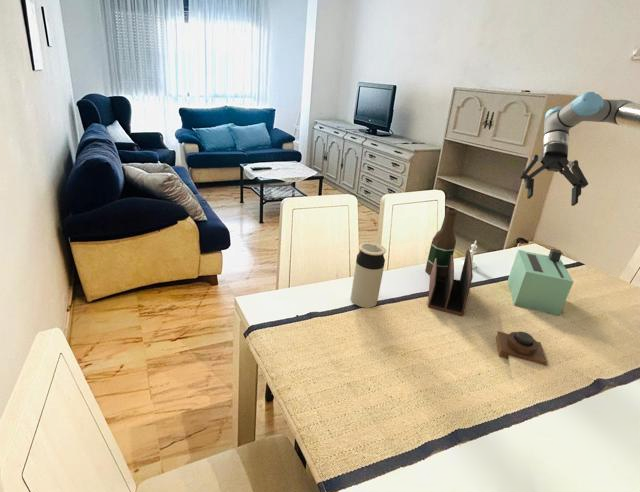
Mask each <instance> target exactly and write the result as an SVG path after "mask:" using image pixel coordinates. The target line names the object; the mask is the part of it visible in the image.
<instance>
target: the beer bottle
mask: <svg viewBox="0 0 640 492" xmlns="http://www.w3.org/2000/svg"><path fill="white" fill-rule="evenodd" d="M444 214H445V215H444V217H443V221H442V224H441V227H440V229H439V230H438V231H437V232H436V233H435V235H434V236H433V237H432V240H431V244H430V247H429V253H428V257H427V260H426V265H425V273H426V274H428V276H430V275H431V271H432V268H433V264H434V261H435V258H437V276H441V277H445V276H446V272H447V268H448V264H449V260H450V256H451V254H452V255H453V256H454V252H455V248H456V244H457V237H456V235H455V232H454V227H455V221H456V216H457V215H458V209H456V208H455V207H446V209H445V213H444Z"/></svg>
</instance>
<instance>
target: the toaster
mask: <svg viewBox="0 0 640 492" xmlns="http://www.w3.org/2000/svg"><path fill="white" fill-rule="evenodd" d="M548 256H549V255H547V254H541V253H536V252H530V251H525V250H520V249H517V251H516V254H515V258H514V260H513V264H512V266H511V270H510V273H509V275H508V279H507V283H508V287H509V291H510V294H511V299H512V302H513V306H516V307H519V308H520V307H521V308H524V309H527V310H532V311H536V312H541V313H546V314H550V315H552V316H553V315H554V316H558V317H560V316H561V313H562V311H563V308H564V306H565V304H566V301H567V299H568V296H569V294H570V292H571V289H572V286H573V284H574V280H573V278H572V276H571V275H570V273H569V272H568V270H567V268H566V266H565V265H564V263H563V261H562V259H561V258H560V260H559V262H557V261H552V260H550V259H549V257H548Z"/></svg>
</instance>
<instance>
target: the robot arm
mask: <svg viewBox="0 0 640 492" xmlns="http://www.w3.org/2000/svg"><path fill="white" fill-rule="evenodd" d="M581 122H593V123H594V122H595V123H599V122H600V123H608V124H613V125H617V126H624V127H626V128H630V129H634V130H639V131H640V103H637V102H635V101H632V100H628V99H606V98H603V97H602V96H601V95H600V94H599V93H596V92H595V91H587V92H584V93H582V94H580V95H579V96H577V97H575V98H574V99H573V100H572V101H570V102H569V103H568V104H566V105H565V106H555V107H554V108H550V109H549V110H547V111H546V113H545V115H544V121H543V140H542V149H541V151H542V152H541V156H539V155H538V154H534V155H533V156H532V157H531V160H530V163H529V165H528V166H527V167H526V169H524V171H523V172H522V173H521V175H520V176H519V178H520V180H523V181H524V182H525V185H524V188H525V189H526V190H527V194H526V195H527V196H526V198H527V200H528V199H531V198H532V197H534V187H535V177H536V176H538V175H539V174H541V173H542V172H543V171H545V170H547V171H548V172H555V173H559V174H560V175H563V177H564V178H565V179H566V180H567V181H568V182H569V183H570V184H571V185H572V188H571V201H570V205H571V206H572V207H575V206H576V205H577V204H578V203H579V197H580V196H581V195H582V189H584V188H586V187H587V186H589V181H588V179H587V177H585V174H584V173H583V171H582V169H581V167H580V166H579V160H577V159H575V160H573V161H572V160H570V161H569V159H568V158H569V157H568V155H569V141H570V139H569V138H570V137H569V136H570V130H571V129H572V128H573V127H575V126H577V125H579V124H581ZM539 162H540V164H541V166H540V167H538V168H537V169H536V170H534V171H533V172H531V173H530V174H529V172H530V171H531V170H532V169H533V167H534V166H535V164H537V163H539Z"/></svg>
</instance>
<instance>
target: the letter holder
mask: <svg viewBox="0 0 640 492" xmlns="http://www.w3.org/2000/svg"><path fill="white" fill-rule="evenodd" d="M470 254H471V252H470V249H467V250H466V252H465V256H464V260H463V261H464V265H462V270H461V273H460V278H459V279H455V262H454V254H453V255H452V254H451V256H450V260H449V264H448V268H447V272H446V276H445V277H441V276H437V258H435V261H434V264H433V268H432V271H431V275H429V285H428V296H427V307H428V308H430V309H433V310H436V311H441V312H444V313H449V314H452V315H457V316H461V317H464V315H465V312H466V307H467V303H468V300H469V295H470V290H471V286H472V281H473V277H474V276H473V268H472V261H471V255H470Z"/></svg>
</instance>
